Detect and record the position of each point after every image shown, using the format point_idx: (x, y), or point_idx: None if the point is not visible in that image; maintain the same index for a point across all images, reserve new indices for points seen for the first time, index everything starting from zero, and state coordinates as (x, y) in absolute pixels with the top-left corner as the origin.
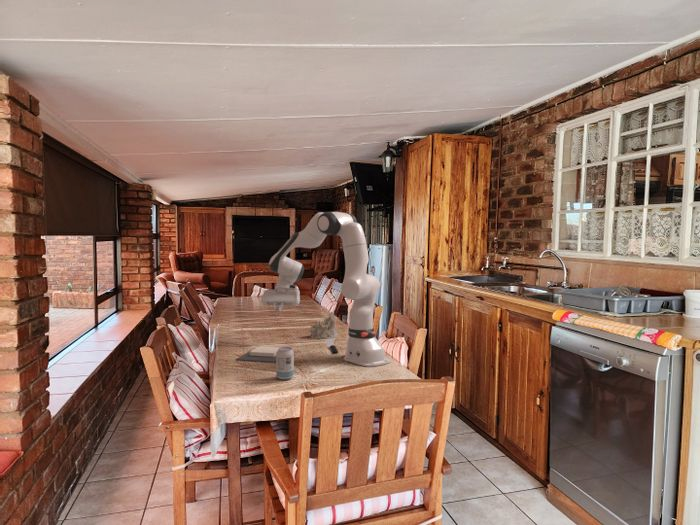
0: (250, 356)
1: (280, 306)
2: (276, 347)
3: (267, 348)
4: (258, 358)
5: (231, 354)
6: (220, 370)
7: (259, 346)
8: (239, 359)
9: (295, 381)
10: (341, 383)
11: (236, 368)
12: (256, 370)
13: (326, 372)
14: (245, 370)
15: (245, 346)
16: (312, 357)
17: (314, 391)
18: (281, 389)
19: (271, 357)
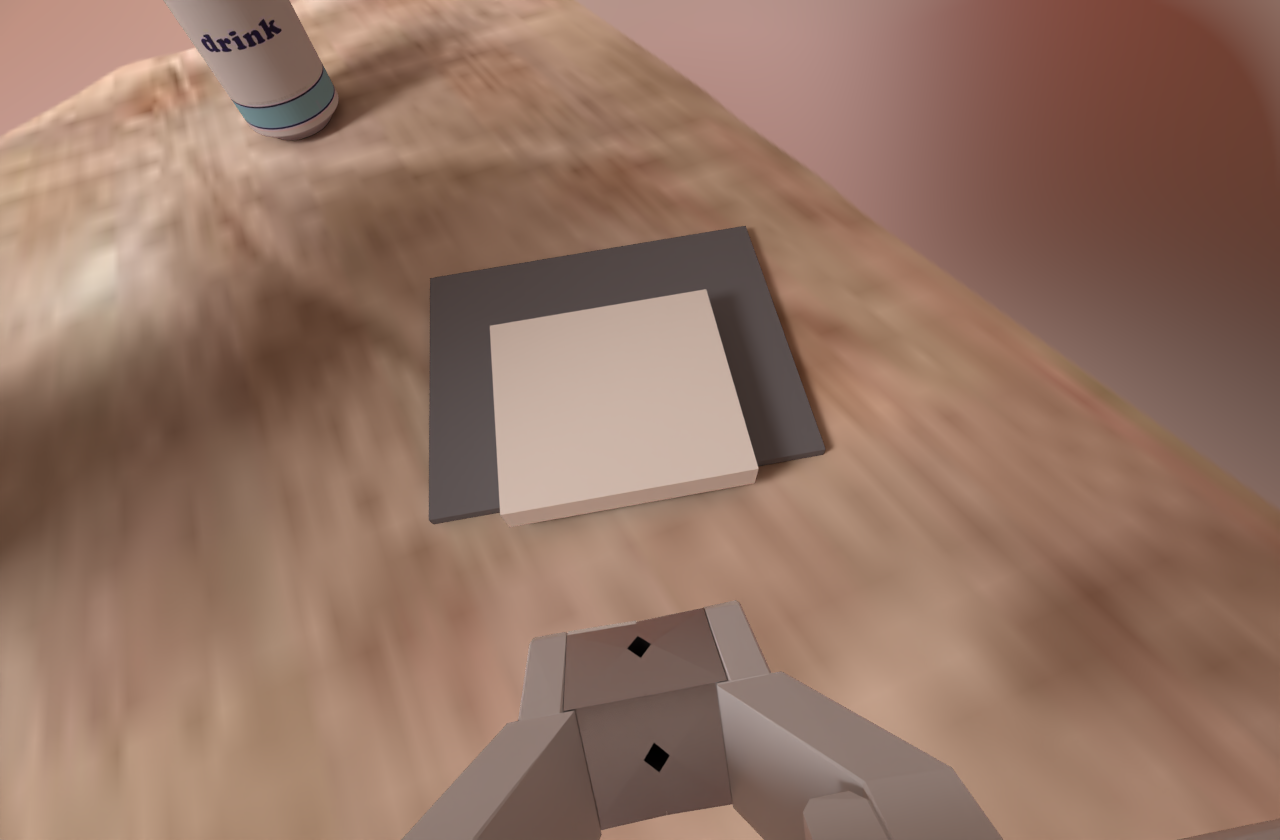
0: None
1: (509, 743)
2: (556, 491)
3: (623, 426)
4: (601, 288)
5: (900, 328)
6: (691, 92)
7: (744, 459)
8: (718, 230)
9: None
10: (3, 156)
11: (630, 136)
12: (500, 149)
13: (74, 250)
14: (560, 131)
15: (1035, 611)
16: (190, 500)
17: (137, 63)
18: None
19: None
